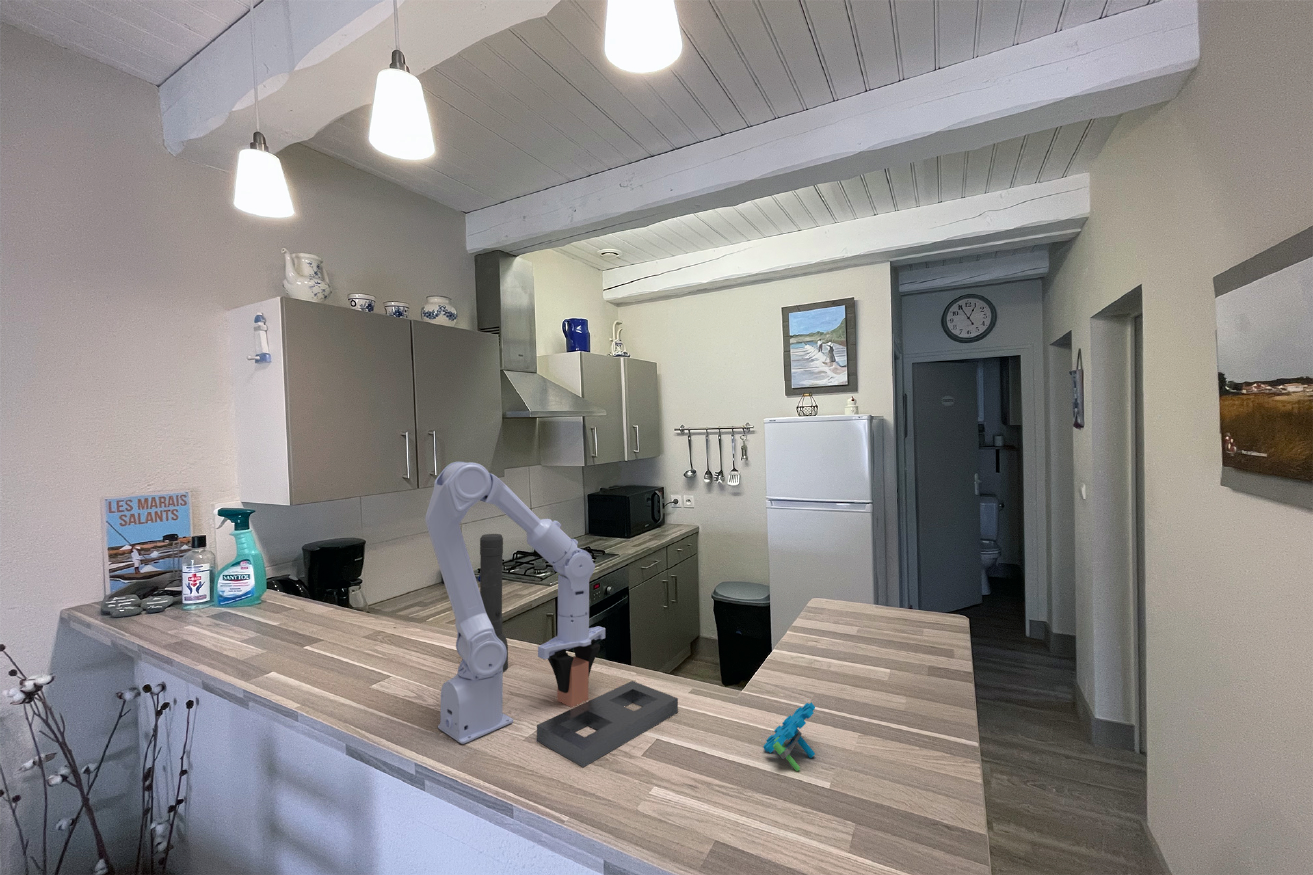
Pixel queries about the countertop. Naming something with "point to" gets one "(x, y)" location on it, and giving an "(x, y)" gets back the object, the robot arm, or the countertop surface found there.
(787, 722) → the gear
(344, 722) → the countertop surface
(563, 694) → the square block
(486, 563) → the flashlight
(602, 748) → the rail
